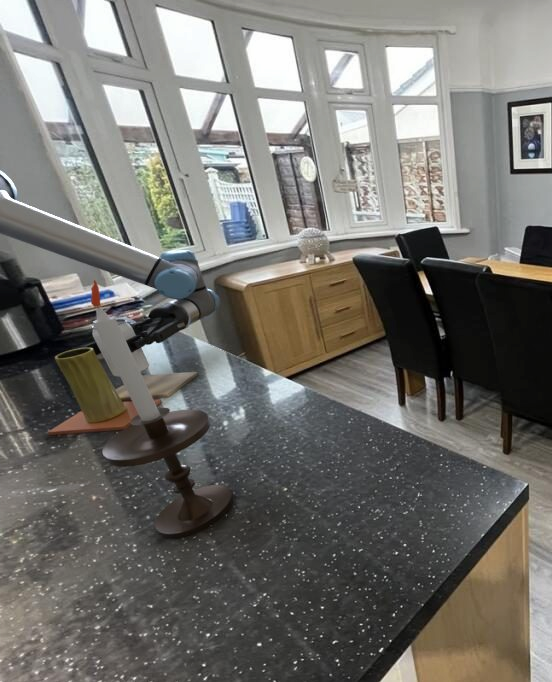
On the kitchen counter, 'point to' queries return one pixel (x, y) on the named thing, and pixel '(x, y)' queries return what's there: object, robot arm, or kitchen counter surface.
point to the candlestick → (159, 440)
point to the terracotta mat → (82, 426)
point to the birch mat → (161, 384)
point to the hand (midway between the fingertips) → (100, 353)
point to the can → (127, 334)
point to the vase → (90, 385)
